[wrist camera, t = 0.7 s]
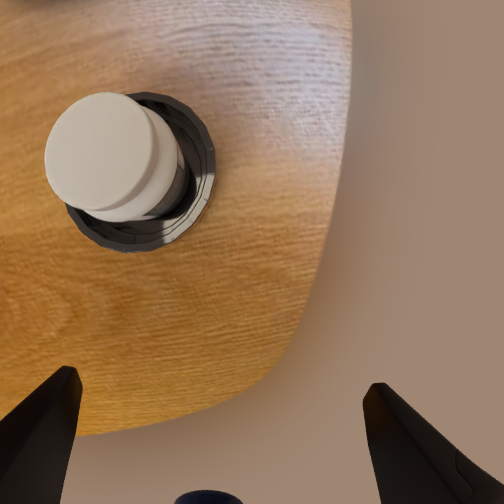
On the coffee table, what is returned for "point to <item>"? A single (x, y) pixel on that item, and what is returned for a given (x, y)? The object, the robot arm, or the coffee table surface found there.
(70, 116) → the pill bottle
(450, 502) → the robot arm
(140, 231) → the charcoal bowl
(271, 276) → the coffee table surface
